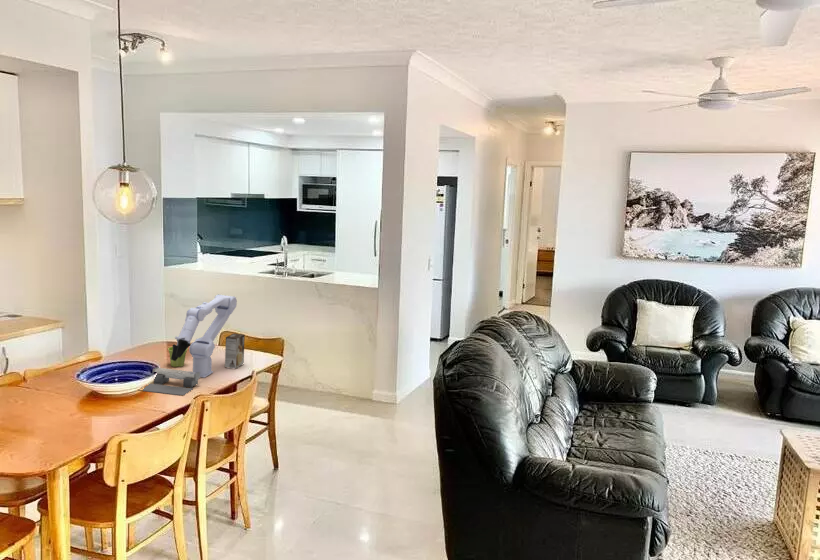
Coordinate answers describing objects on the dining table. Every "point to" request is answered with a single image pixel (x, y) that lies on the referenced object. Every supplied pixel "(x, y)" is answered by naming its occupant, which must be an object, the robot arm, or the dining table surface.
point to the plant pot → (180, 360)
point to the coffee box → (234, 350)
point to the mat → (167, 389)
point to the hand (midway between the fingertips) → (175, 358)
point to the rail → (177, 374)
